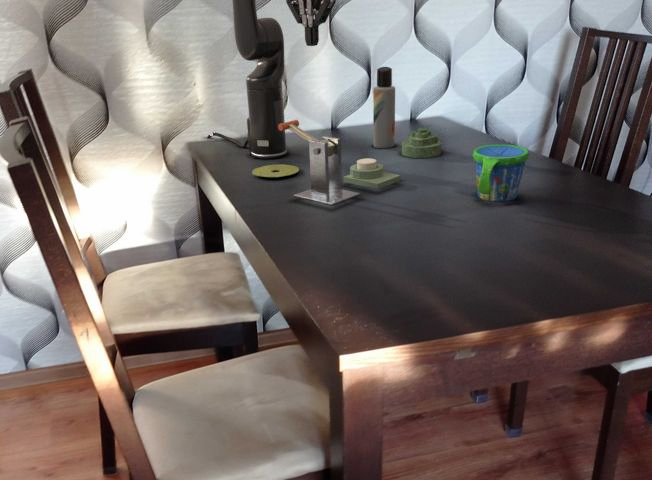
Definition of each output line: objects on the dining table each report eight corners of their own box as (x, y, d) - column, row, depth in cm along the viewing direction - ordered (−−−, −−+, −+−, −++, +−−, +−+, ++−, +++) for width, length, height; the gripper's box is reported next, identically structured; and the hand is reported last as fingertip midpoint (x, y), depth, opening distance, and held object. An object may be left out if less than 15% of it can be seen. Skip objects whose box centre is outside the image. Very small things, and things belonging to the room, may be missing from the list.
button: (352, 169, 157) (352, 161, 156) (365, 165, 160) (365, 157, 159) (368, 172, 154) (368, 164, 154) (380, 167, 157) (380, 160, 156)
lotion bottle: (394, 143, 192) (395, 65, 182) (394, 148, 187) (395, 68, 177) (373, 143, 193) (373, 66, 183) (373, 148, 188) (373, 69, 178)
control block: (343, 186, 159) (342, 168, 157) (365, 178, 164) (365, 160, 162) (378, 193, 152) (378, 175, 150) (400, 184, 157) (400, 167, 155)
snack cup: (502, 215, 136) (507, 162, 131) (454, 206, 142) (457, 155, 137) (537, 194, 146) (543, 145, 141) (490, 187, 152) (494, 139, 147)
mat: (244, 177, 169) (243, 169, 168) (285, 169, 174) (284, 161, 173) (265, 187, 161) (265, 179, 160) (308, 178, 165) (307, 170, 164)
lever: (277, 131, 149) (279, 120, 147) (293, 126, 152) (295, 116, 150) (320, 159, 143) (323, 148, 142) (336, 154, 146) (339, 143, 145)
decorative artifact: (426, 146, 187) (394, 152, 184) (427, 119, 184) (394, 124, 180) (448, 154, 179) (415, 160, 175) (450, 125, 175) (416, 131, 172)
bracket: (294, 201, 151) (290, 140, 144) (322, 191, 156) (320, 132, 150) (332, 210, 144) (330, 147, 138) (360, 199, 149) (359, 138, 143)
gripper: (344, -47, 143) (346, 44, 151) (298, -45, 151) (302, 42, 160) (319, -46, 138) (322, 49, 147) (273, -44, 147) (278, 46, 155)
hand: (312, 45), depth 153 cm, fingers closed
